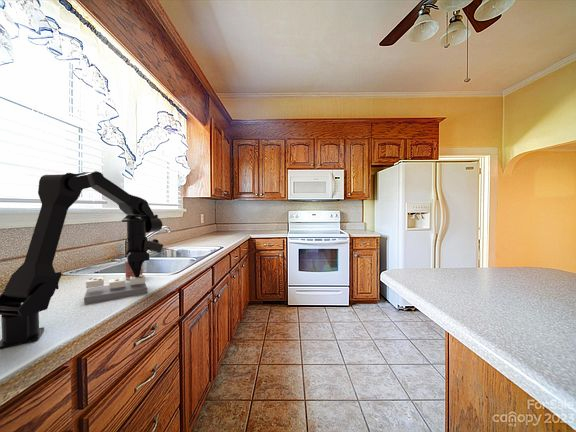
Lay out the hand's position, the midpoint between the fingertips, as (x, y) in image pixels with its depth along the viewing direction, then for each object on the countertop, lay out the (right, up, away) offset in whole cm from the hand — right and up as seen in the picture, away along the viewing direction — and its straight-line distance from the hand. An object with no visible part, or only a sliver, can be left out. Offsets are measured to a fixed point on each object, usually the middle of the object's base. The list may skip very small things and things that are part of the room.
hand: (137, 277), depth 89 cm
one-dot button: (-5, -2, -3) cm, 6 cm away
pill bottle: (-12, -5, +17) cm, 21 cm away
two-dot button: (0, -2, 0) cm, 2 cm away
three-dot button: (-10, -1, -7) cm, 12 cm away
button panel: (-5, -5, -3) cm, 8 cm away
